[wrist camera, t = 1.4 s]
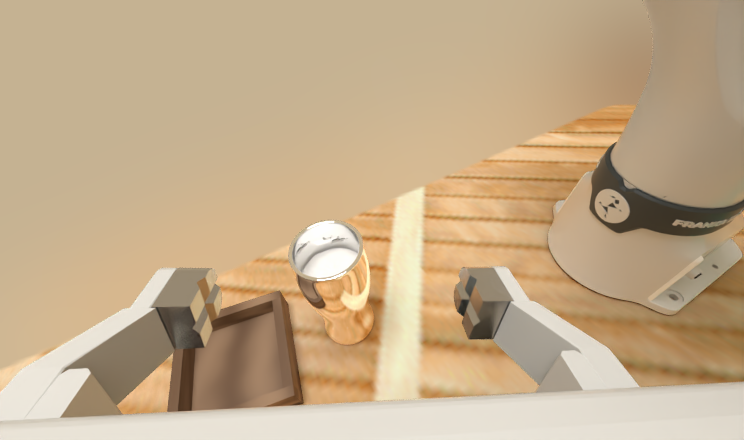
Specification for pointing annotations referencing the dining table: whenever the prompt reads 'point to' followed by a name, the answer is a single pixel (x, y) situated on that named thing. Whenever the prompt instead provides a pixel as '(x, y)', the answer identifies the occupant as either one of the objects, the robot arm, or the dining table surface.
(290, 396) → the walnut tray
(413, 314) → the dining table surface
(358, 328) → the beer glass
